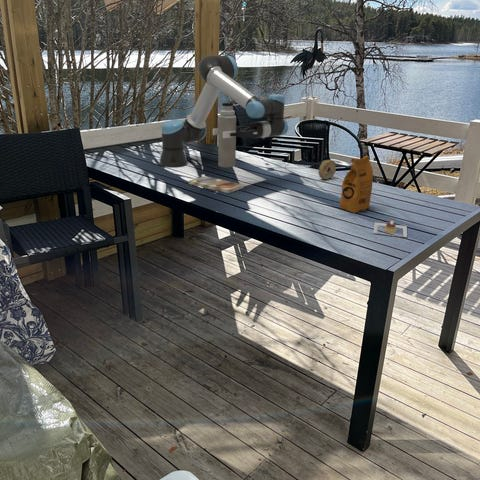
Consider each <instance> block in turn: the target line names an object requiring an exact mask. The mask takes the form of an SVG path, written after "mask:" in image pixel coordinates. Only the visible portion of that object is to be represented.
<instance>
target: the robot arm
mask: <svg viewBox="0 0 480 480" xmlns="http://www.w3.org/2000/svg"><path fill="white" fill-rule="evenodd" d="M238 67H239V66H238V63H237V61H236V60H235V58H234V57H233V56H231V55H227V54H223V55H211V54H210V55H206V56H204V57H203V58H201V60H199V63H198V66H197V71H198V74H199V76H200V78H201V79H202V80H203V81H204V82H205V84H204V86H203V88H202V90H201V92H200V94H199V96H198V98H197V100H196V103H195V105H194V107H193V109H192V112H191V113H190V114H187V115H186V117H185V119H184V121H183V120H181V119H172V120H171V119H170V120H166V121H164V122H163V123H162V124H161V144H162V146H161V148H162V150H161V156H160V159H159V165H160V166H161V167H166V166H167V168H178V167H179V168H180V167H184V166H187V165H188V159H187V157H186V153H185V149H184V148H185V147H184V146H185V145H184V144H189V143H197V142H200V141H202V140H203V139H205V137H206V135H207V123H206V121H207V118H208V116H209V115H210V112H211V110H212V109H213V107H214V104H215V102H216V101H217V98H218V97H219V95H220V93H221V92H222V93H223V94H225V95H226V96H228V98H230V99H231V100H233V101H234V102H235V103H237V104H238V105H240V107H242V108H243V109H245V112H246V114H247V116H248V117H249V118H251V119H261V118H266V117H267V120H261V121H252V122H250V123H249V125H244V126H243V125H236V131H227V132H223V138H231V137H236V138H248V137H251V139H260V138H262V139H265V138H271V137H272V138H273V137H279V136H284V135H286V134H287V133H288V132H289V123H288V122H287V120H286V119H284V114H285V96H284V94H279V93H276V94H275V93H274V94H273V93H272V94H269V95H268V99H260V98H259V97H257V96H256V95H255V94H253V93H252V92H251V91H250V90H248V89H247V88H245V87H244V86H243V85H241V84H240V83H238V82H237V81H236V80H235V78H236V77H237V75H238V69H239V68H238ZM212 136H218V128H212Z"/></svg>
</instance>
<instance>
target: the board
mask: <svg viewBox="0 0 480 480" xmlns="http://www.w3.org/2000/svg"><path fill="white" fill-rule="evenodd" d="M188 185H192V186H195V187H196V186H197V187H201V188H206V189H209V190H214V191H217V192H222V193H225V194H226V193H227V194H230V193H233V192H236V191H238V190H241V189H244V188H245V184H243V183H239V182H234V181H228V180H225V179H221V178H220V179H219V178H215V177H210V176H206V175H204V176H200V177H196V178H194V179H190V180H188Z"/></svg>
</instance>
